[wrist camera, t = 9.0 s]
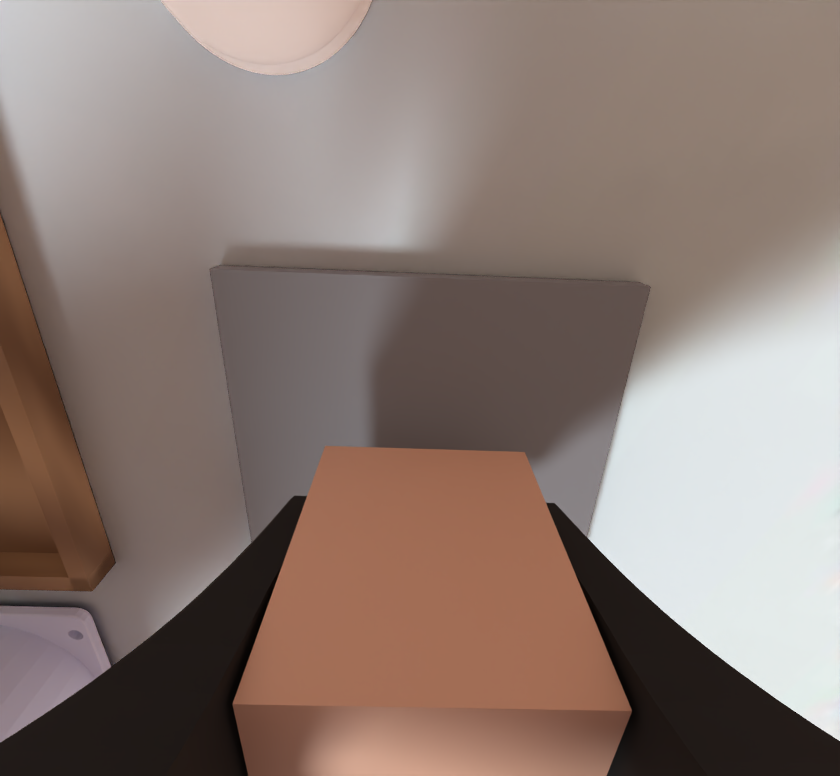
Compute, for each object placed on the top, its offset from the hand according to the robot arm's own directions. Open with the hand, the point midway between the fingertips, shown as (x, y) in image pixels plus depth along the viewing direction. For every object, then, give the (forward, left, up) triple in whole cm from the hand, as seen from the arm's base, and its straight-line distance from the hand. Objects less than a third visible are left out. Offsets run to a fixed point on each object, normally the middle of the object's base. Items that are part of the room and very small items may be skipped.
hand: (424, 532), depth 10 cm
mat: (0, 0, -3) cm, 3 cm away
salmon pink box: (0, 0, -1) cm, 1 cm away
